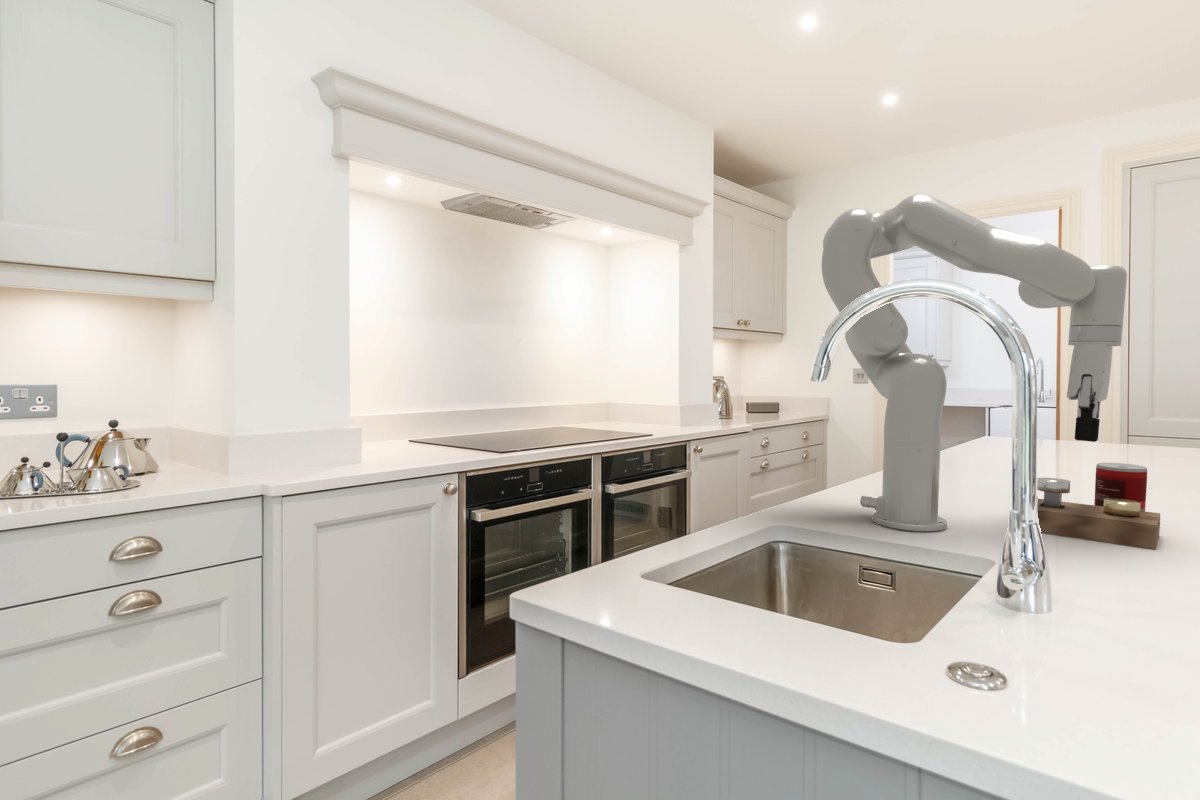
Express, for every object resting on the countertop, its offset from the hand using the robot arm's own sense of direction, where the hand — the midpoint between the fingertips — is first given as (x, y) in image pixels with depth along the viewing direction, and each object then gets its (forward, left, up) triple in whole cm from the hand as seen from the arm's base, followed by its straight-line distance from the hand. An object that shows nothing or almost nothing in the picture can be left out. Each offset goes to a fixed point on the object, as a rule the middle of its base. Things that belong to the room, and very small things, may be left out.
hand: (1086, 440), depth 118 cm
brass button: (+5, 0, -16) cm, 17 cm away
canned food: (+4, +14, -17) cm, 22 cm away
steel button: (-5, 0, -14) cm, 14 cm away
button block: (0, 0, -17) cm, 17 cm away
